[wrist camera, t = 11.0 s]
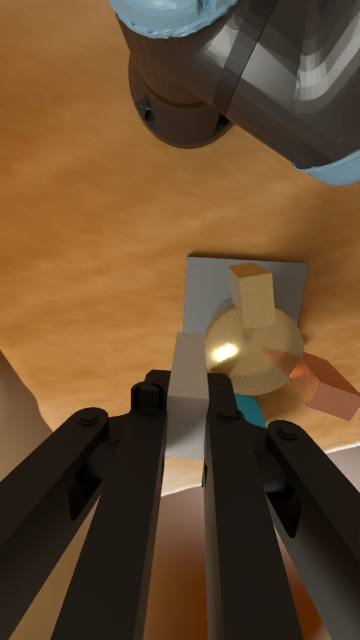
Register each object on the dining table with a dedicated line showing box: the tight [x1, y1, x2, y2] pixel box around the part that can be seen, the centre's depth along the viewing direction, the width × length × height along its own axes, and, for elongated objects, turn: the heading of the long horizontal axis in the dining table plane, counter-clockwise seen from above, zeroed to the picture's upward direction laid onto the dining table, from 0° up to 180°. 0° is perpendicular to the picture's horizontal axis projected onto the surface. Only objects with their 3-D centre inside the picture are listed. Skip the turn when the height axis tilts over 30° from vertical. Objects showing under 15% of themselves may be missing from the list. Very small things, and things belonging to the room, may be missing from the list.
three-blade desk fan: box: [204, 262, 360, 421], centre depth 34 cm, size 17×20×9 cm
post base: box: [183, 256, 309, 345], centre depth 42 cm, size 20×20×9 cm
